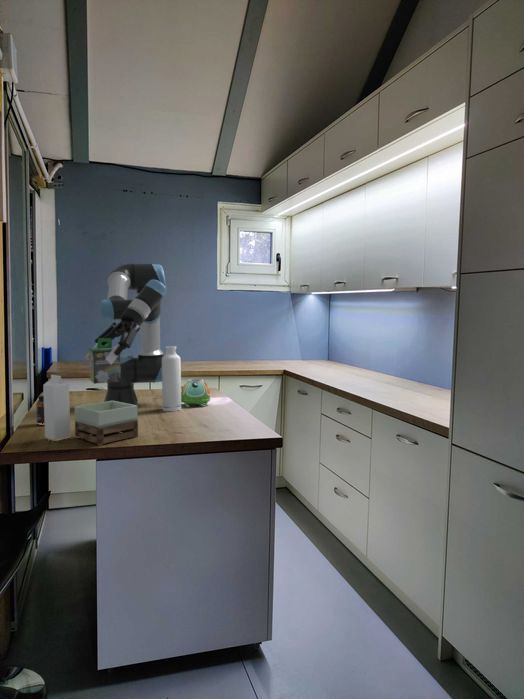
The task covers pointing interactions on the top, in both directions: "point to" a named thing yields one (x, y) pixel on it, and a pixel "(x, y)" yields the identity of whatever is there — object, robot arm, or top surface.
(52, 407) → the milk
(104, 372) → the chalk box
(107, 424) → the box
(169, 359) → the bottle
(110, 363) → the robot arm
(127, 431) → the lower crate
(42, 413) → the supplement bottle
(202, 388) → the turtle holder
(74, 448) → the top surface
